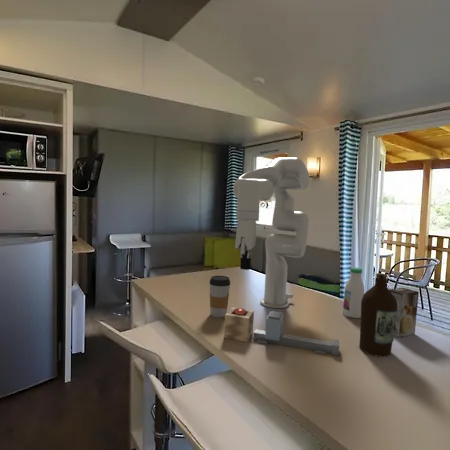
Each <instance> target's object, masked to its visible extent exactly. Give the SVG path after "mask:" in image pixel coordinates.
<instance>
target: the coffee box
mask: <svg viewBox="0 0 450 450" xmlns="http://www.w3.org/2000/svg"><path fill="white" fill-rule="evenodd" d="M388 289H389V288H388ZM389 291H390V292H391V293H392V294H393V295H394V297H395V298H396V301H397V314H396V320H395V327H394V333H393V336H394V335H395V336H394V337H397V336H398V337H397V338H402V337H401V336H403V337H406V336H405V335H407V336H411V335H416V334H415V333H416V323H417V315H418V314H417V313H418V303H419V291H417V290H415V289H414V290H412V289H410V288H407V287H406V288H405V287H398V288H390V289H389Z"/></svg>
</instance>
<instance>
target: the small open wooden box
mask: <svg viewBox="0 0 450 450" xmlns="http://www.w3.org/2000/svg"><path fill="white" fill-rule="evenodd" d="M236 308H237V307H231V308H230V309H229V310H227V313H226V314H225V316H224V331H223V333H224V334H223V338H224V339H229V340H235V341H240V342H246V343H247V342H249V339H250V338H251V336H252V335H253V334H254V317H255V310H252V309H245V308H244V309H245V316H241V315H235V309H236Z"/></svg>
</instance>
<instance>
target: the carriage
mask: <svg viewBox="0 0 450 450" xmlns="http://www.w3.org/2000/svg"><path fill="white" fill-rule="evenodd" d="M283 327H284V313H283V312H280V311H275V310H270V311H269V313H268V315H267V317H266V321H265V331H266V333H265V336H266V339H271V340H277V341H279V340H280V335H281V334H283Z"/></svg>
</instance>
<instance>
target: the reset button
mask: <svg viewBox="0 0 450 450" xmlns="http://www.w3.org/2000/svg"><path fill="white" fill-rule="evenodd" d="M235 308H236V309H235V315H241V316H245V308H242V307H235Z"/></svg>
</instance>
